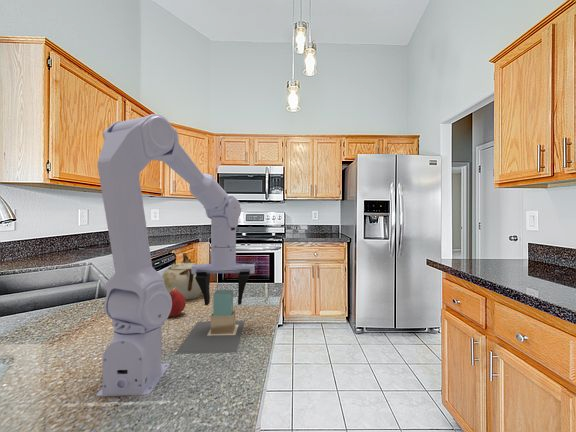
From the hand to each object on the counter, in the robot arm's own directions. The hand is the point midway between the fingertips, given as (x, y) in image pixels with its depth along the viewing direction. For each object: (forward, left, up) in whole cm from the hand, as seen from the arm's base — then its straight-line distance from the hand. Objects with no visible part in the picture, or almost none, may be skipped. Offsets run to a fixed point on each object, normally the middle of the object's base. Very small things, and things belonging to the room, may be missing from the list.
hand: (223, 303), depth 71 cm
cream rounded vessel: (+32, +18, -7) cm, 37 cm away
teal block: (0, 0, -2) cm, 2 cm away
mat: (-3, +2, -7) cm, 7 cm away
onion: (+11, +15, -7) cm, 20 cm away
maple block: (0, 0, -6) cm, 6 cm away
